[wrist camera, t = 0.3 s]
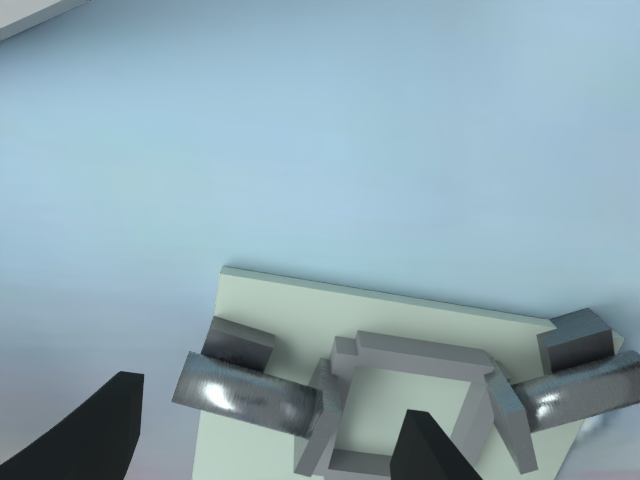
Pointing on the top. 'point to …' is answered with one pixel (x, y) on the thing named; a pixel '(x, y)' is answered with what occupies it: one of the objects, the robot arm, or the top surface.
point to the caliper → (30, 13)
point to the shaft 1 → (261, 390)
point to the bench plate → (378, 378)
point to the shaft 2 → (563, 384)
